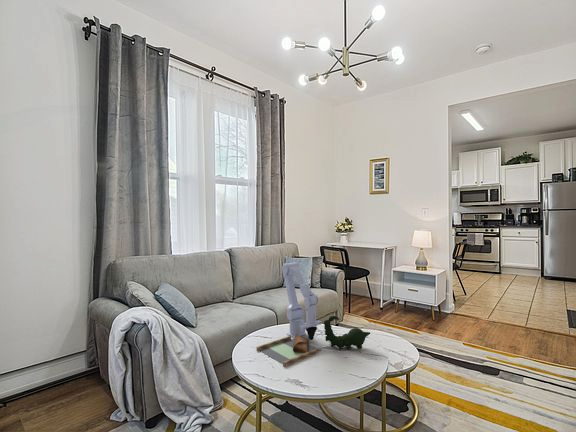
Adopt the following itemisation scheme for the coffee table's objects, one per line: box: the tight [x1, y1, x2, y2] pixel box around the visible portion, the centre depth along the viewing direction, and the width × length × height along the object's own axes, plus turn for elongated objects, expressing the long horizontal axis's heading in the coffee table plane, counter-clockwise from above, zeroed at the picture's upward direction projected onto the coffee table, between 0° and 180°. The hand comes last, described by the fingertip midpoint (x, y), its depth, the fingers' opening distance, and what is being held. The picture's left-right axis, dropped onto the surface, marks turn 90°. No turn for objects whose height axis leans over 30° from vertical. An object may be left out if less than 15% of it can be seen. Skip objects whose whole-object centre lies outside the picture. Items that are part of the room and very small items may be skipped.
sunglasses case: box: [293, 334, 310, 353], centre depth 181 cm, size 18×7×7 cm
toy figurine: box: [323, 315, 371, 350], centre depth 179 cm, size 9×19×25 cm
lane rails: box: [256, 335, 320, 367], centre depth 175 cm, size 24×24×2 cm
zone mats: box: [258, 338, 322, 365], centre depth 176 cm, size 26×22×1 cm
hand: (311, 339), depth 186 cm, fingers closed
